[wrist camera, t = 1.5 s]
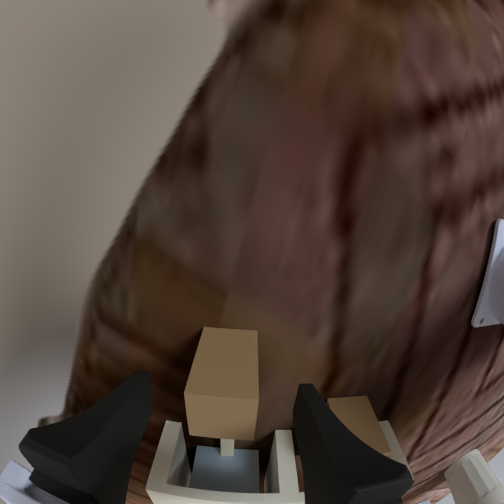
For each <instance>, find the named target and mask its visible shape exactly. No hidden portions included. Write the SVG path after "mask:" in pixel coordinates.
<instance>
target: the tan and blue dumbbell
mask: <svg viewBox="0 0 504 504" xmlns="http://www.w3.org/2000/svg"><path fill="white" fill-rule="evenodd" d="M184 398H185V406H186V414H187V421H188V428H189V435H193V436H201V437H210V438H220V440H221V448H217V447H207V446H198V445H197V449H196V455H195V460H194V465H193V471H192V476H191V482H190V488H194V489H201V490H210V491H220V492H233V493H259V450H245V449H234V440H252V441H254V435H255V427H256V419H257V410H258V402H259V384H258V336H257V331H256V330H239V329H225V328H212V327H204V328H203V331H202V335H201V338H200V341H199V344H198V348H197V351H196V354H195V358H194V361H193V364H192V368H191V371H190V374H189V378H188V381H187V384H186V388H185V391H184Z"/></svg>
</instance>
